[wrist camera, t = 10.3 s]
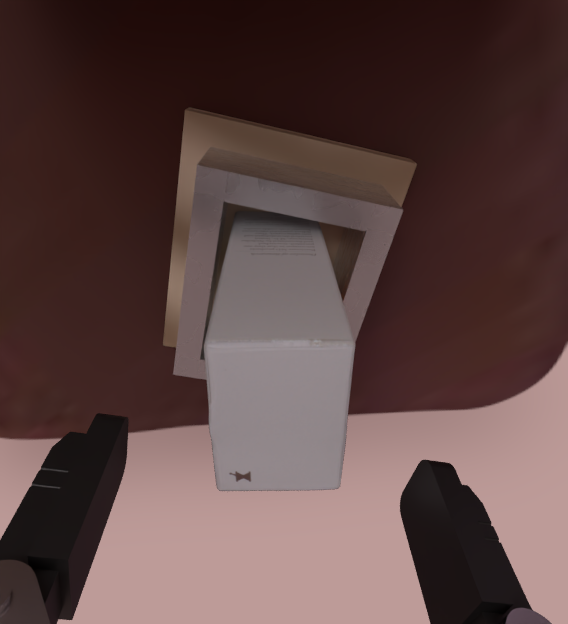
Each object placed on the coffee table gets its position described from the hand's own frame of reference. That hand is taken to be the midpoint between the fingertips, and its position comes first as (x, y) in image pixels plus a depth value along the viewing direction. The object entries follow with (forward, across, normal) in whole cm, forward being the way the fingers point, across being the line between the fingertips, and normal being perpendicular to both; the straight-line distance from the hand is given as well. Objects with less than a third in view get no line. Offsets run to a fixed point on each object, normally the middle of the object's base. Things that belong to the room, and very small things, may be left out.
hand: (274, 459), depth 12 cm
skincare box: (+13, 0, 0) cm, 13 cm away
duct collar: (+13, 0, 0) cm, 13 cm away
